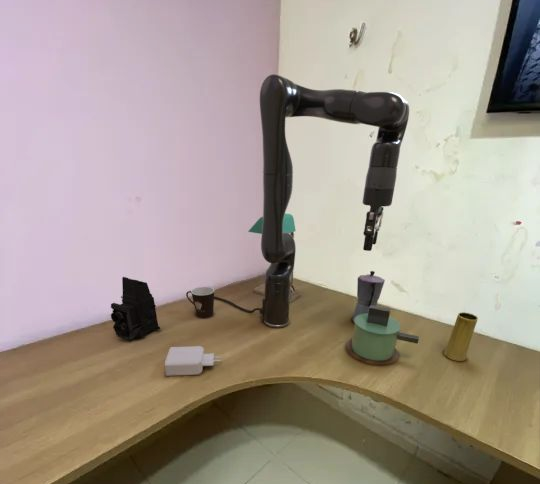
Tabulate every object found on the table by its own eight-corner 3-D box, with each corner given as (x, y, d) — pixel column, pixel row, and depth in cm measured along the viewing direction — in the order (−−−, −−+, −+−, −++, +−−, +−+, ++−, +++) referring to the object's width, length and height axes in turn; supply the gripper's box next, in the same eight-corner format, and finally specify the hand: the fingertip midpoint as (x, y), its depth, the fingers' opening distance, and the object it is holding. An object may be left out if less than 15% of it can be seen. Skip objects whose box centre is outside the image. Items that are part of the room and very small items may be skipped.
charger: (220, 375, 87) (166, 377, 86) (222, 357, 95) (172, 358, 94) (220, 361, 85) (164, 363, 84) (221, 343, 93) (170, 345, 92)
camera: (110, 339, 103) (96, 282, 94) (142, 323, 114) (132, 270, 105) (131, 347, 99) (119, 289, 90) (162, 329, 110) (154, 275, 101)
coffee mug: (220, 315, 121) (218, 291, 117) (200, 321, 116) (198, 297, 112) (205, 305, 129) (203, 283, 125) (186, 311, 124) (183, 287, 120)
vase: (463, 353, 100) (477, 313, 94) (467, 363, 95) (482, 322, 89) (442, 349, 102) (454, 310, 96) (445, 359, 97) (458, 318, 90)
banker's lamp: (286, 304, 131) (290, 220, 116) (246, 293, 142) (246, 214, 126) (303, 293, 143) (309, 215, 128) (266, 284, 154) (267, 210, 138)
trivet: (339, 354, 98) (339, 353, 97) (355, 334, 110) (355, 332, 110) (391, 372, 90) (392, 370, 90) (402, 347, 102) (403, 346, 102)
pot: (346, 354, 97) (352, 312, 90) (354, 334, 108) (361, 296, 102) (412, 370, 89) (424, 326, 83) (414, 348, 101) (424, 307, 94)
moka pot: (373, 314, 125) (382, 266, 116) (381, 332, 111) (392, 280, 102) (349, 312, 126) (356, 265, 117) (354, 331, 112) (363, 278, 103)
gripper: (369, 184, 89) (360, 240, 96) (360, 186, 77) (351, 251, 84) (396, 185, 86) (386, 243, 93) (391, 188, 74) (380, 254, 81)
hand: (369, 247), depth 89 cm, fingers open, 8 cm apart
